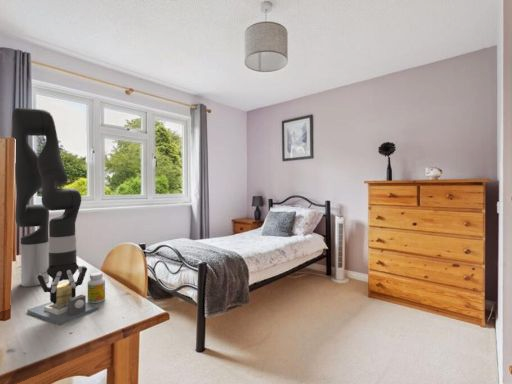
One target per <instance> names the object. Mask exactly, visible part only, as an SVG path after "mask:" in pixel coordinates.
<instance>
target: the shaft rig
mask: <svg viewBox="0 0 512 384" xmlns="http://www.w3.org/2000/svg"><path fill="white" fill-rule="evenodd" d="M98 310H99V305H97V304H94V303H89V302H87V301H86V295H85V294H79V295H76V296H75V297H71V298H69V299H68V300H67V305H63V306H59V307H57V306H56V305H55V304H53V302H51V301H49V302H46V303H43V304H41V305H36V306H35V307H32V308H29V309H27V310H26V311H27V312H26V313H27V314H29V315H32V316H34V317H37V318H39V319H41V320H44V321H48V322H50V323H53V324H55V325H58V326H61V325H64V324H66V323H68V322H71V321H74V320H76V319H78V318H81V317H84V316H85V315H88V314H90V313H92V312H95V311H98Z"/></svg>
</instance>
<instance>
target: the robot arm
mask: <svg viewBox="0 0 512 384" xmlns="http://www.w3.org/2000/svg"><path fill="white" fill-rule="evenodd" d="M12 131H13V138H15V139H16V163H15V162H14V164H15V165H14V171H15V173H14V176H15V177H14V178H15V187H16V188H15V189H16V192H15V193H16V200H15V202H16V203H15V223H16V225H17V226H18V227H20V228H33V227H38V229H37V230H35V231H33V232H31V233H29V234H26V235H23V236H22V237H21V238H20V280H21V281H20V286H21V287H26V288H27V287H28V288H29V287H30V288H31V287H36V286H41V289H42V290H43V292H44V293H49V300H50V301H49V302H53V304H56V288H57V285H58V284H59V282H61V281H68V282H69V283H70V284H71V285H72V297H76V296H77V295H76V294H77V292H76V291H77V290H76V289H77V287H78V286H81V285H83V282H84V279H85V277H86V274H87V271H88V268H87V266H85V265H78V264H77V237H76V221H77V219H78V218H77V217H78V214H79V210H80V207H81V204H82V195H81V193H80V192H79V190H77V189H76V188H57V187H61V186H63V185H65V184H66V183H67V182H68V180H69V177H68V175H67V171H66V168H65V166H64V163H63V160H62V157H61V151H60V146H59V145H60V144H59V140H58V133H57V128H56V124H55V120H54V117H53V115H52V114H51V112H50V111H48V110H45V109H40V108H39V109H38V108H27V107H26V108H25V107H16V108H14V109H13V111H12ZM28 136H34V137H37V136H38V137H39V136H40V137H45V145H44V146H43V148H42V150H41V151H40V153H39V155H38V154H37V152H36V151H35V150H34V149H33V147H32V146H31V145H30V143H29V140H28ZM41 188H42V189H41ZM40 189H41V190H42V191H41V204H29V201H30V200H31V198H33V196H34V195H36V193H38V192H39V191H40ZM50 211H54V212H55V211H64V212H63V213H62V214H61V215H60V216H57V217H54V218H50ZM77 271H78V277H77V279H76V280H75V278H74V274H76V272H77ZM50 278H51V279H52V280H51V284H50V286H48V285H47V283H48V282H49V281H50Z"/></svg>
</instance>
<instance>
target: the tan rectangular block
mask: <svg viewBox="0 0 512 384" xmlns="http://www.w3.org/2000/svg"><path fill="white" fill-rule="evenodd" d="M71 297H72V285H71V284H70V283H69V281H68V282H63V283H60V284H59V283H58V285H57V288H56V304H55V305H56V306H57V307H59V306H63V305H67V300H68V299H69V298H71Z"/></svg>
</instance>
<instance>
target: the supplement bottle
mask: <svg viewBox="0 0 512 384" xmlns="http://www.w3.org/2000/svg"><path fill="white" fill-rule="evenodd" d="M103 276H104V275H103V272H100V271H96V272H92V273H90V274H89V280H88V281H87V303H90V304H98V303H101V302H104V300H105V299H106V280H105V278H104V277H103Z"/></svg>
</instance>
